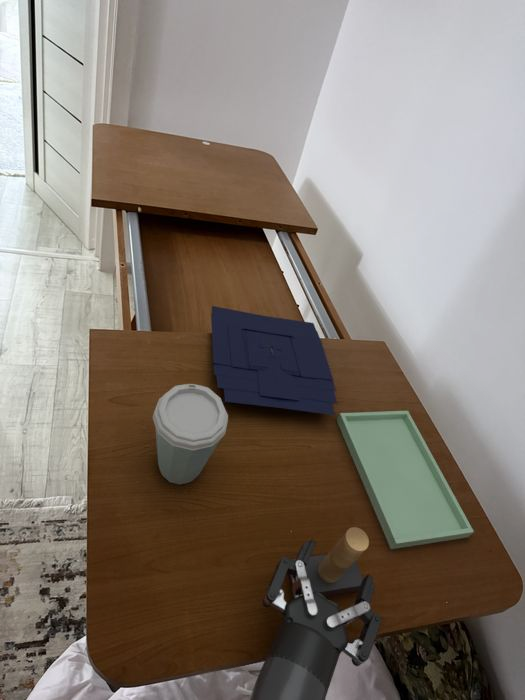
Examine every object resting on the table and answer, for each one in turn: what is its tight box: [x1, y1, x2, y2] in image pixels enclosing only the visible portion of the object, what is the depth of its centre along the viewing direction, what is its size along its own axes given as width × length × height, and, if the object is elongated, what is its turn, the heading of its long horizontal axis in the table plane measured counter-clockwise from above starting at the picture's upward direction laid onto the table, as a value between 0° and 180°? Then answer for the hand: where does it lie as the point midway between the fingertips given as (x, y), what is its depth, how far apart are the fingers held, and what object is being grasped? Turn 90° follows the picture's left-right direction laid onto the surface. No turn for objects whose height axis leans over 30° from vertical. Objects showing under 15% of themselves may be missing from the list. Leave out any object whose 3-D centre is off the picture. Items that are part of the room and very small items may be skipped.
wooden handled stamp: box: [288, 526, 370, 598], centre depth 69 cm, size 5×10×13 cm, turn 104°
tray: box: [335, 410, 475, 550], centre depth 91 cm, size 26×16×2 cm, turn 15°
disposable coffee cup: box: [152, 383, 229, 486], centre depth 75 cm, size 11×11×15 cm
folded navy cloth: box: [210, 305, 338, 416], centre depth 102 cm, size 24×30×4 cm
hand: (340, 560), depth 68 cm, fingers open, 8 cm apart
